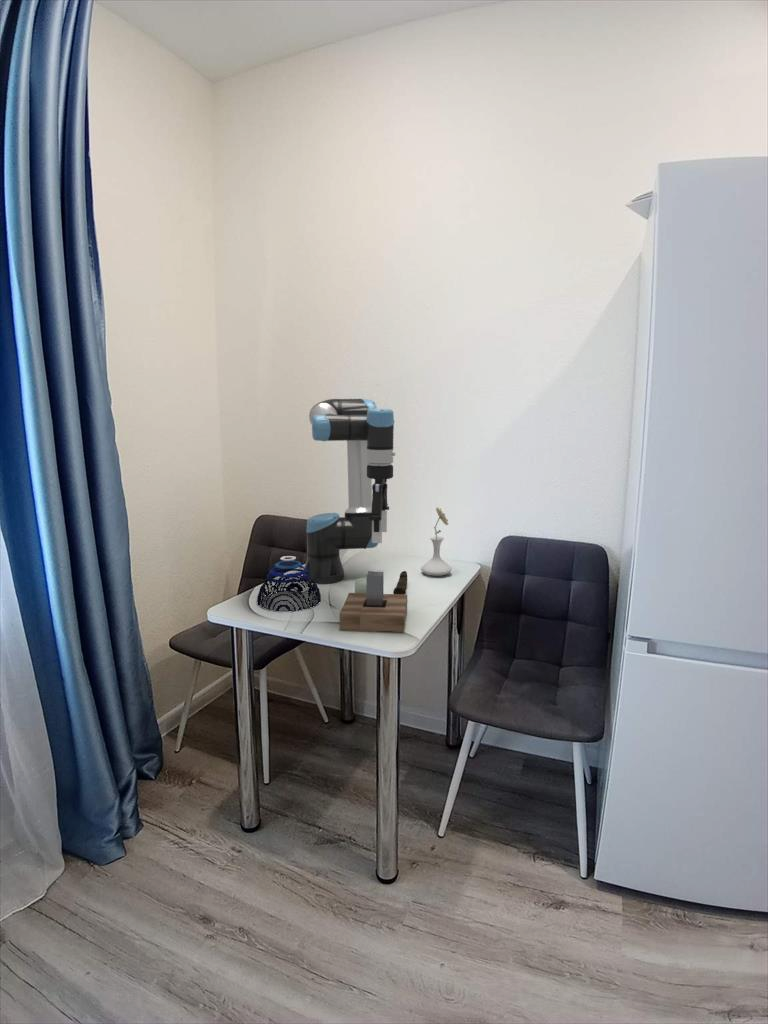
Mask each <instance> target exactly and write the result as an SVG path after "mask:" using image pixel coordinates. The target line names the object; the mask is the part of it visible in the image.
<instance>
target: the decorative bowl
mask: <svg viewBox="0 0 768 1024" xmlns="http://www.w3.org/2000/svg"><path fill="white" fill-rule="evenodd" d="M296 559H297V557H296V556H295V555H294V556H293V555H286V556H285V555H284V556H281V557H280V558H279V560H281V561H279V562H277V563H275V564H274V567H273V568H271V569H270V570H269V573H268V574H267V576H266V580H264V582H263V583H262V585H261V586H260V587H259V591H258V593H257V597H256V603H257V602H258V604H257V606H258V605H261V606H262V607H264V608H266V609H269V610H276V611H281V609H282V608H285V609H286V611H291V612H292V610H293V612H299V610H301V611H303V610H302V609H305V610H308V609H311V608H310V607H312V608H314V607H316V605H317V604H318V603H319V602H320V603H321V601H322V595H321V592H320V591H321V590H320V587H319V586H318V583H316V582H315V581H314V580H313V579H311V582H310V581H309V580H307V579H309V578H310V577H311V574H310V573H309V572H308V570H307V569H306V568H305V566H303V564H302V562H301V561H297V560H296ZM284 563H295V564H284ZM296 563H297V564H296ZM280 564H284V565H280ZM294 571H295V572H294ZM281 572H291V573H287V574H286V573H285V574H284V573H281ZM292 572H293V573H292ZM305 573H308V575H307V576H305V577H304V576H303V574H305ZM270 576H273V577H277V578H278V577H279V578H278V579H276V578H272V577H270ZM306 580H307V581H308V582H307V581H306ZM273 583H274V584H273ZM295 591H297V592H295ZM301 591H304V593H307V592H308V593H307V597H306V595H305V594H304V593H303V592H301ZM276 592H277V593H276ZM285 592H287V593H285ZM271 593H272V594H271ZM269 594H271V595H269ZM265 595H266V596H265ZM292 595H293V596H292ZM264 596H265V597H264ZM279 597H280V598H281V597H285V598H286V597H287V598H289V599H292V601H293V602H294V603H293V602H291V600H289V599H280V600H279V599H278V598H279ZM294 597H295V598H294ZM261 598H262V599H261ZM296 598H297V599H298V600H299V601H298V600H296ZM276 599H278V600H277V601H275V602H274V600H276ZM281 602H287V603H288V604H287V603H286V604H283V603H282V604H281ZM299 602H300V603H301V605H300V603H299ZM279 603H280V604H279ZM304 603H305V605H306V606H305V605H304ZM320 603H319V604H320ZM295 604H296V606H297V607H296V606H295ZM319 604H318V605H319ZM290 605H291V606H290ZM318 605H317V606H318ZM313 606H314V607H313ZM291 607H292V608H291ZM271 608H272V609H271ZM275 608H276V609H275ZM297 608H298V609H297ZM307 608H308V609H307ZM269 610H268V611H269ZM296 610H298V611H296ZM276 611H275V612H276Z"/></svg>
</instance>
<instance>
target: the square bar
mask: <svg viewBox="0 0 768 1024" xmlns="http://www.w3.org/2000/svg"><path fill="white" fill-rule="evenodd" d="M384 577H385V576H384V571H371V570H370V571H369V570H368V571H367V573H366V577H365V578H366V607H382V608H383V594H384V581H385V580H384Z"/></svg>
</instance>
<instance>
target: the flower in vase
mask: <svg viewBox="0 0 768 1024" xmlns="http://www.w3.org/2000/svg"><path fill="white" fill-rule="evenodd" d="M435 510H436V513H437V515H438V519H437V521H436V523H435V526H433V528H434V532H435V533H434V535H435V536H431V537H429V538H430V540H431V543H432V546H433V553H432V554H433V555H432V557H431V558H430V560H428V561H427V562H425V563H424V564H423V565H422V566H421V569H420V570H421V572H422V573H423V574H425V575H428V576H434V577H435V576H436V577H440V576H446V575H449V574H451V572H452V568H451V566H450V565H449V564H448V563H447V562H446V561H445V560H443V559H442V558H441V555H440V552H441V551H440V550H441V545H442V541H444V537H442V536H438V534H440V533H441V532H442V530H440V529H439V530H438V531H437V525H438V523H439V521H440V520H441V521H442V523H443V524H444V525H446V526H448V525H449V520H448V519H447V518H446V514H445V513H443V511H442V509H441V508H439V507H438V506H437V507H435Z"/></svg>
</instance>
